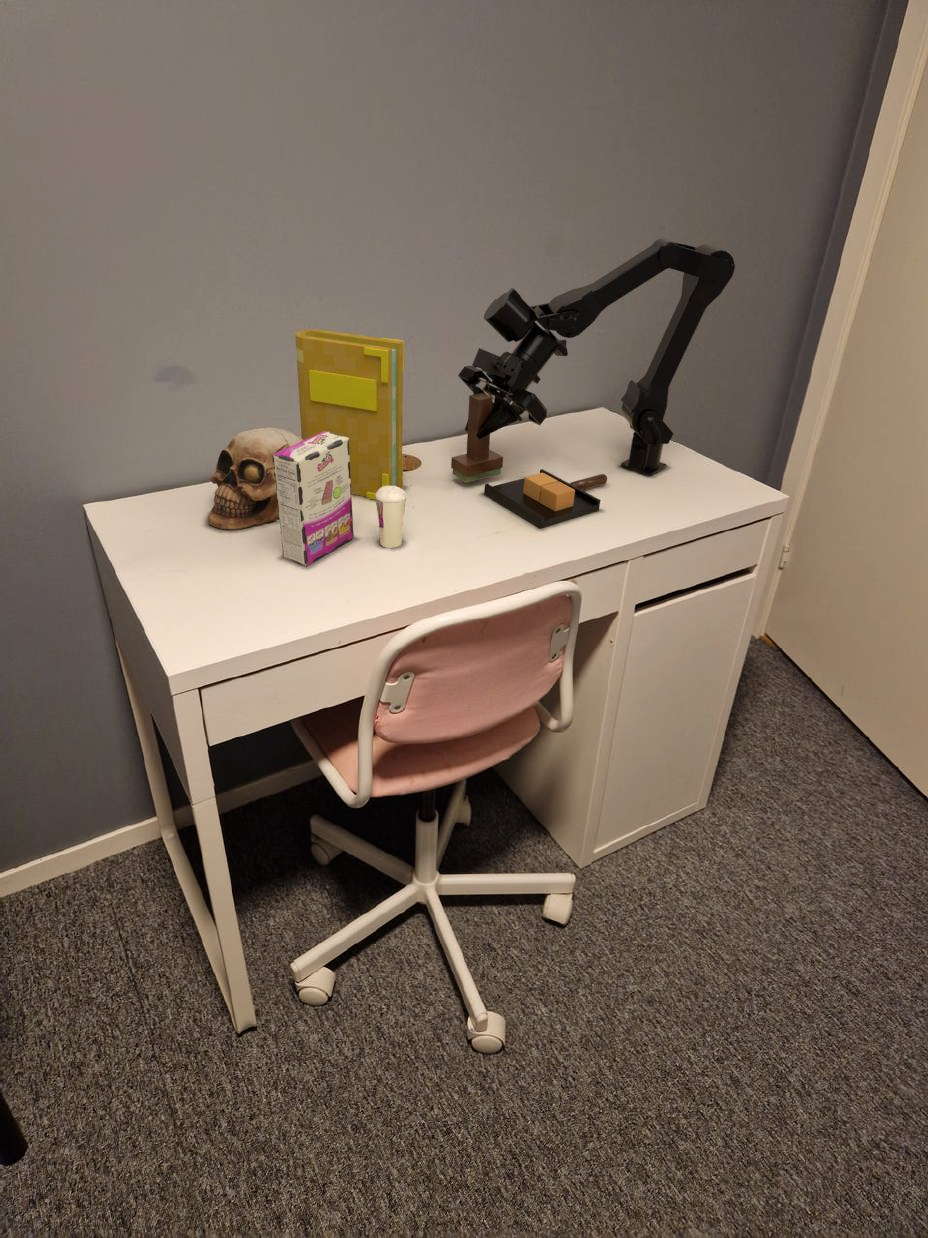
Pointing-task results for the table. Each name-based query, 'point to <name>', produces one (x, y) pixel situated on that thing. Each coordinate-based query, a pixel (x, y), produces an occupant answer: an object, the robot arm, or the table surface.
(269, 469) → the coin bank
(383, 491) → the milkshake
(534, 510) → the griddle
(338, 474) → the candy bar box
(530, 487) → the block
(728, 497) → the table surface
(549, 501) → the orange square block
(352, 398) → the book
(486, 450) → the scrub brush
